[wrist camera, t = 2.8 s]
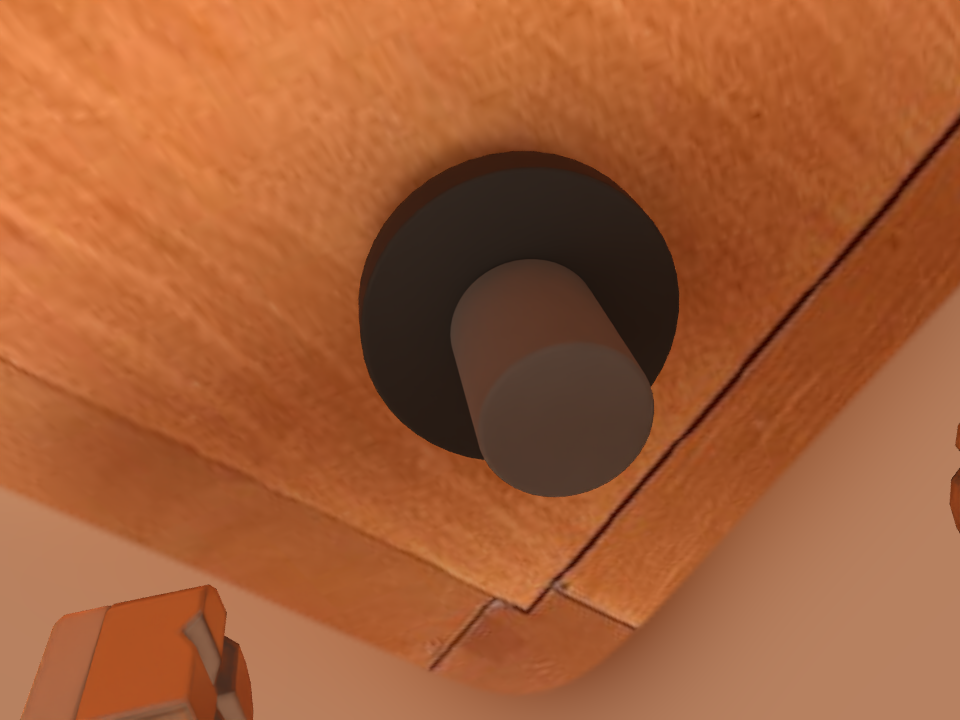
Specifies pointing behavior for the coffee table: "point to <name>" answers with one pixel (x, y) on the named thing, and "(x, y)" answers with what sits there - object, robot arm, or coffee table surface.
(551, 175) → the stopper
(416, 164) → the coffee table surface
